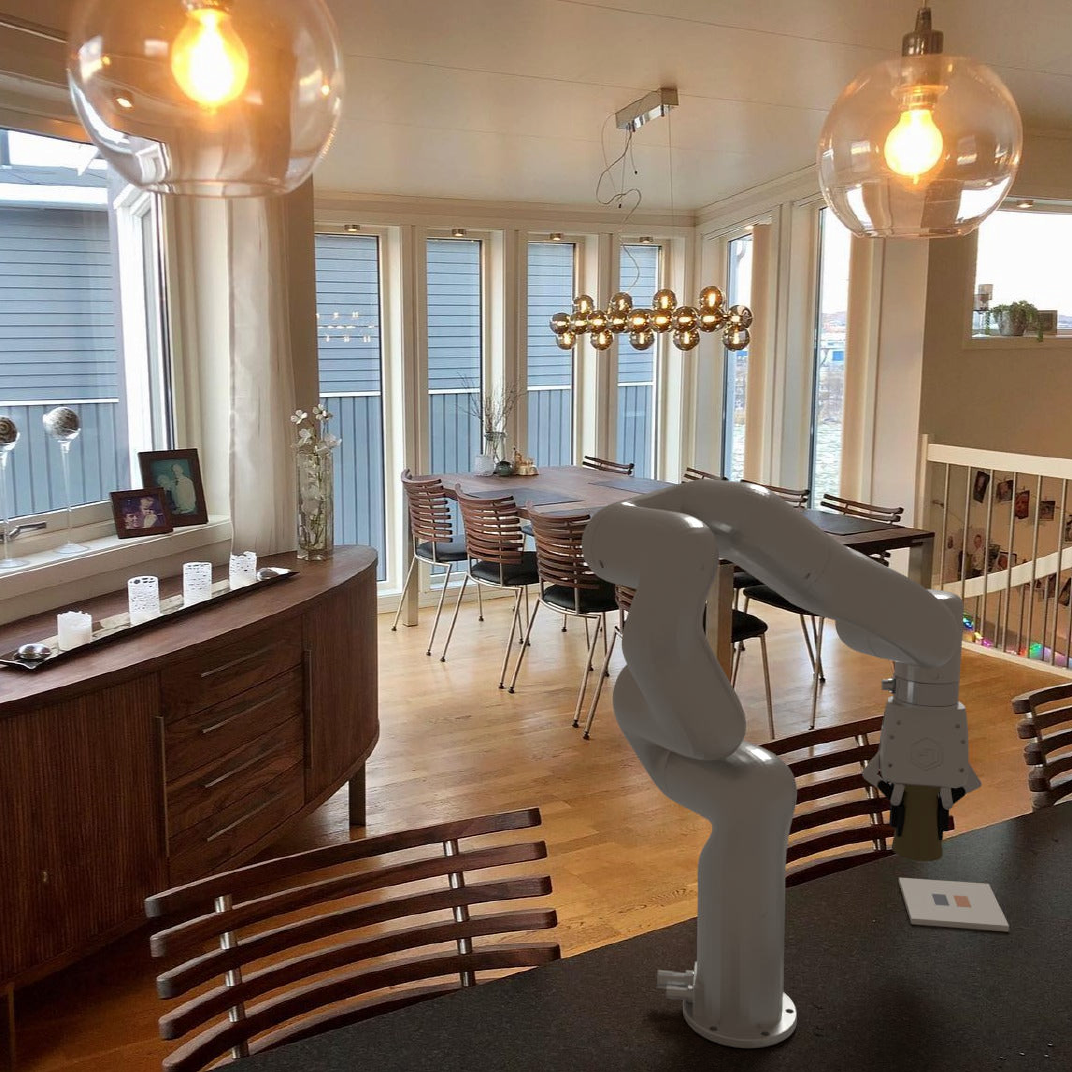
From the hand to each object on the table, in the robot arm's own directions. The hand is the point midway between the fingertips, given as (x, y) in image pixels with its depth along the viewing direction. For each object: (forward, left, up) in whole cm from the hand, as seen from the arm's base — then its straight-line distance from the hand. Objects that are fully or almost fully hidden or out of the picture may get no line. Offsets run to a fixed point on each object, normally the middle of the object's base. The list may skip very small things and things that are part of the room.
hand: (918, 832), depth 134 cm
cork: (0, 0, -3) cm, 3 cm away
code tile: (+6, +11, -15) cm, 20 cm away
